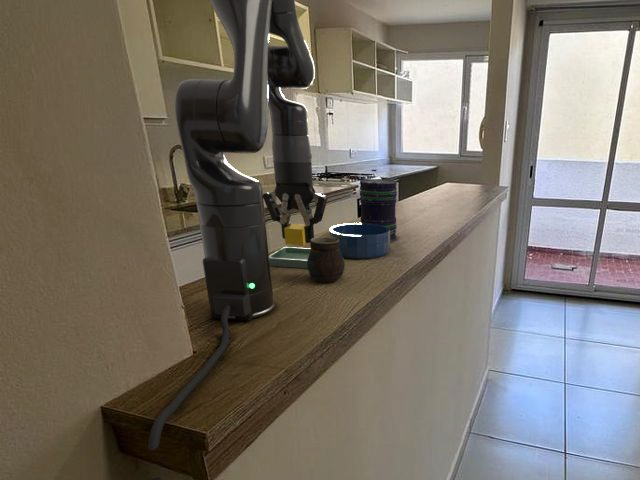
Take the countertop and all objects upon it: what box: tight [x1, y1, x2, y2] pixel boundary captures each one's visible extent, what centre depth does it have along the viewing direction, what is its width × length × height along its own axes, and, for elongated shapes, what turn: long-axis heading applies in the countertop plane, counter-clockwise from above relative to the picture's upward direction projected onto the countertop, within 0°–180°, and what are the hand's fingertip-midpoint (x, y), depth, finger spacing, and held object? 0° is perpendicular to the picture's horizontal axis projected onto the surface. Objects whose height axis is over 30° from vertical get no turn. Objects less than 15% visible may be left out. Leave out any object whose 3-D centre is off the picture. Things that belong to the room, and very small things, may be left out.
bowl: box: [329, 222, 391, 260], centre depth 107 cm, size 14×14×6 cm
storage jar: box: [359, 169, 398, 242], centre depth 119 cm, size 10×10×18 cm
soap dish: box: [269, 246, 311, 269], centre depth 99 cm, size 10×11×2 cm
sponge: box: [284, 223, 307, 247], centre depth 97 cm, size 5×4×4 cm
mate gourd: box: [307, 229, 346, 284], centre depth 86 cm, size 7×8×10 cm
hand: (298, 241), depth 98 cm, fingers closed on sponge, 4 cm apart
